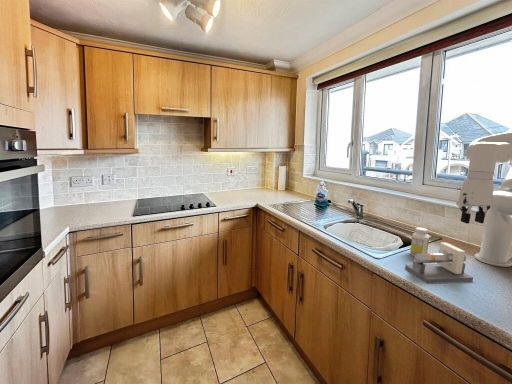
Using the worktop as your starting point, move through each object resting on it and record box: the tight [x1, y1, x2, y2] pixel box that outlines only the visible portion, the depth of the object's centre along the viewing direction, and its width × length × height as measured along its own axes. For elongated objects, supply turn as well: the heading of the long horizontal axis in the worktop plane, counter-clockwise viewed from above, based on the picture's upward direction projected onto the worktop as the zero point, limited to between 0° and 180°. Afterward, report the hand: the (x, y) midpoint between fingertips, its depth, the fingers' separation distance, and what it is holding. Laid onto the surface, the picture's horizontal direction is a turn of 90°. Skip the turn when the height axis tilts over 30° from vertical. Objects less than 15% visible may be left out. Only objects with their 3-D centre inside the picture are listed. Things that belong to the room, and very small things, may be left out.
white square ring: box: [436, 242, 466, 274], centre depth 105 cm, size 2×9×9 cm, turn 7°
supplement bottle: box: [410, 226, 430, 257], centre depth 123 cm, size 7×7×13 cm
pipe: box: [412, 252, 467, 274], centre depth 105 cm, size 19×4×7 cm, turn 97°
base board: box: [404, 263, 474, 284], centre depth 106 cm, size 19×12×2 cm, turn 97°
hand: (471, 222), depth 103 cm, fingers open, 5 cm apart
